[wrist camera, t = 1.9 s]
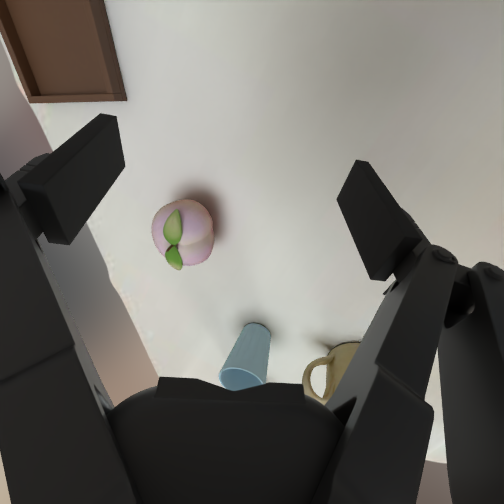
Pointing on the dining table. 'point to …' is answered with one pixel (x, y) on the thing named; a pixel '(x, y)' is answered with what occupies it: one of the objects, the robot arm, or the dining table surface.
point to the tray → (62, 50)
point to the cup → (247, 359)
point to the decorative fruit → (183, 233)
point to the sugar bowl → (330, 370)
